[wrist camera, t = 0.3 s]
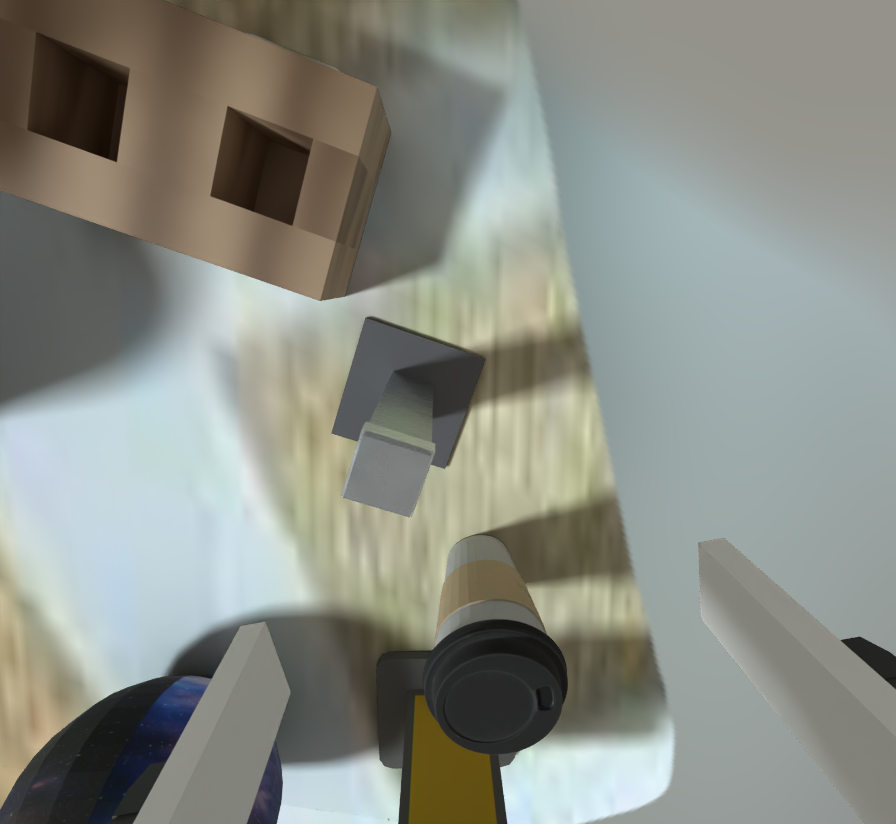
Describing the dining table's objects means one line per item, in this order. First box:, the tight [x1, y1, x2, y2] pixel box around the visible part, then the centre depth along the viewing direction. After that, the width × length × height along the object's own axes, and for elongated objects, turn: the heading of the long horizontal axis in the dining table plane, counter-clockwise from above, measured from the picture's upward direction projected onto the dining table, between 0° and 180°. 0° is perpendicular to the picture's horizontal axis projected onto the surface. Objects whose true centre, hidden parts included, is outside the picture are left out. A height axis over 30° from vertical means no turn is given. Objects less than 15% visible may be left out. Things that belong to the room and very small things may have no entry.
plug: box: [341, 371, 435, 517], centre depth 30 cm, size 4×4×16 cm
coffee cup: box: [423, 535, 568, 755], centre depth 35 cm, size 9×9×15 cm
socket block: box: [0, 0, 391, 301], centre depth 29 cm, size 20×12×8 cm, turn 71°
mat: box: [332, 318, 485, 469], centre depth 38 cm, size 10×10×1 cm
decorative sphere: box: [0, 675, 283, 824], centre depth 37 cm, size 19×20×20 cm
